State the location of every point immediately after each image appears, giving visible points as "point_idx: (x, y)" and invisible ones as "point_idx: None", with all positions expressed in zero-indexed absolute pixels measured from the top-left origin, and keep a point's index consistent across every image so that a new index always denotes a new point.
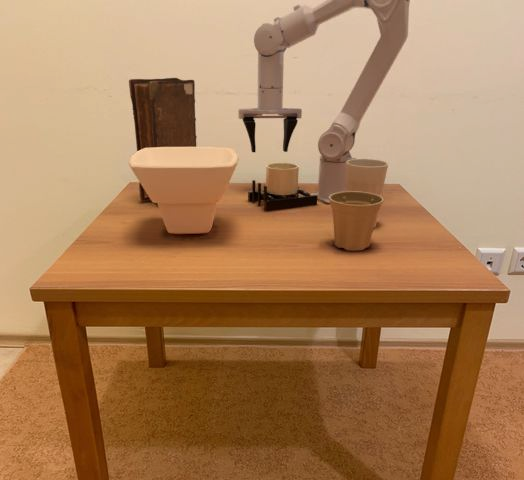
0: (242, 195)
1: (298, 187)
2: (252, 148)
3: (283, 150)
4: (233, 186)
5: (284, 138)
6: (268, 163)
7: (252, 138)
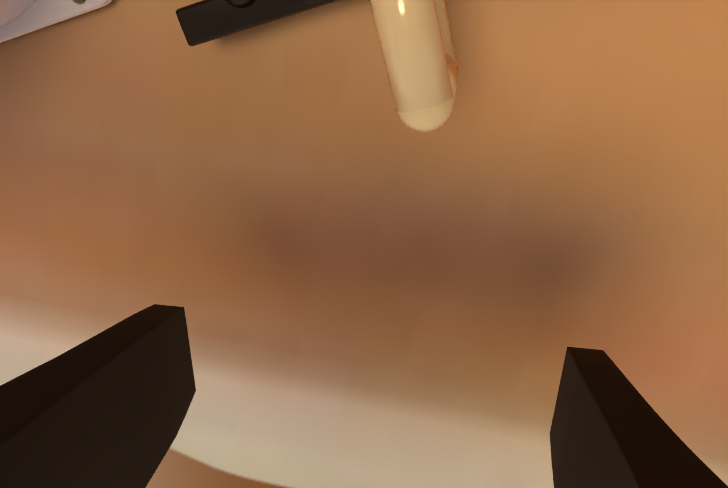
0: (654, 108)
1: (180, 8)
2: (624, 377)
3: (191, 372)
4: (632, 372)
5: (111, 475)
6: (437, 98)
7: (677, 470)
